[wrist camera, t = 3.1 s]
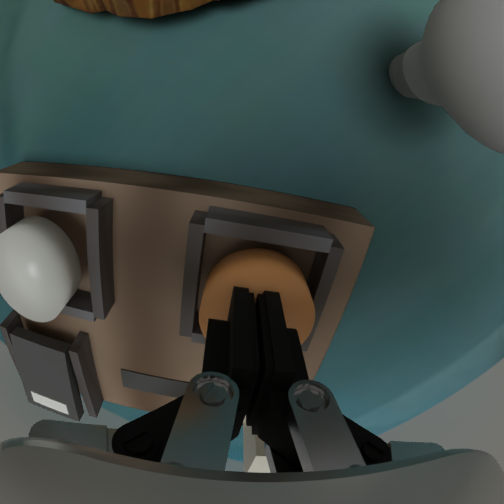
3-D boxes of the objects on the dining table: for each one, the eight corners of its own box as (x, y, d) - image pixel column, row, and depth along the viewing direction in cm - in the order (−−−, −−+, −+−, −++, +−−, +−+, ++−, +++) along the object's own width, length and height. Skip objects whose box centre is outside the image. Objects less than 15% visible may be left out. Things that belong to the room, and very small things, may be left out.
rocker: (71, 344, 15) (63, 354, 14) (83, 412, 16) (78, 422, 15) (17, 326, 15) (8, 334, 13) (34, 393, 16) (28, 402, 15)
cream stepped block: (287, 387, 17) (296, 456, 13) (273, 418, 19) (278, 480, 14) (241, 383, 17) (242, 455, 13) (233, 415, 19) (232, 478, 14)
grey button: (78, 222, 11) (56, 239, 9) (85, 308, 13) (70, 332, 11) (6, 211, 10) (-18, 225, 9) (18, 290, 12) (1, 309, 11)
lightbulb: (398, 151, 15) (560, 222, 5) (327, 63, 13) (469, -3, 3) (460, 94, 13) (613, 117, 3) (399, 10, 11) (542, -47, 1)
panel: (354, 208, 16) (390, 243, 12) (284, 398, 23) (290, 446, 18) (22, 161, 14) (-30, 181, 10) (51, 353, 21) (28, 393, 16)
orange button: (319, 257, 12) (330, 279, 11) (292, 339, 14) (297, 366, 12) (210, 239, 12) (205, 260, 10) (199, 327, 14) (194, 354, 12)
